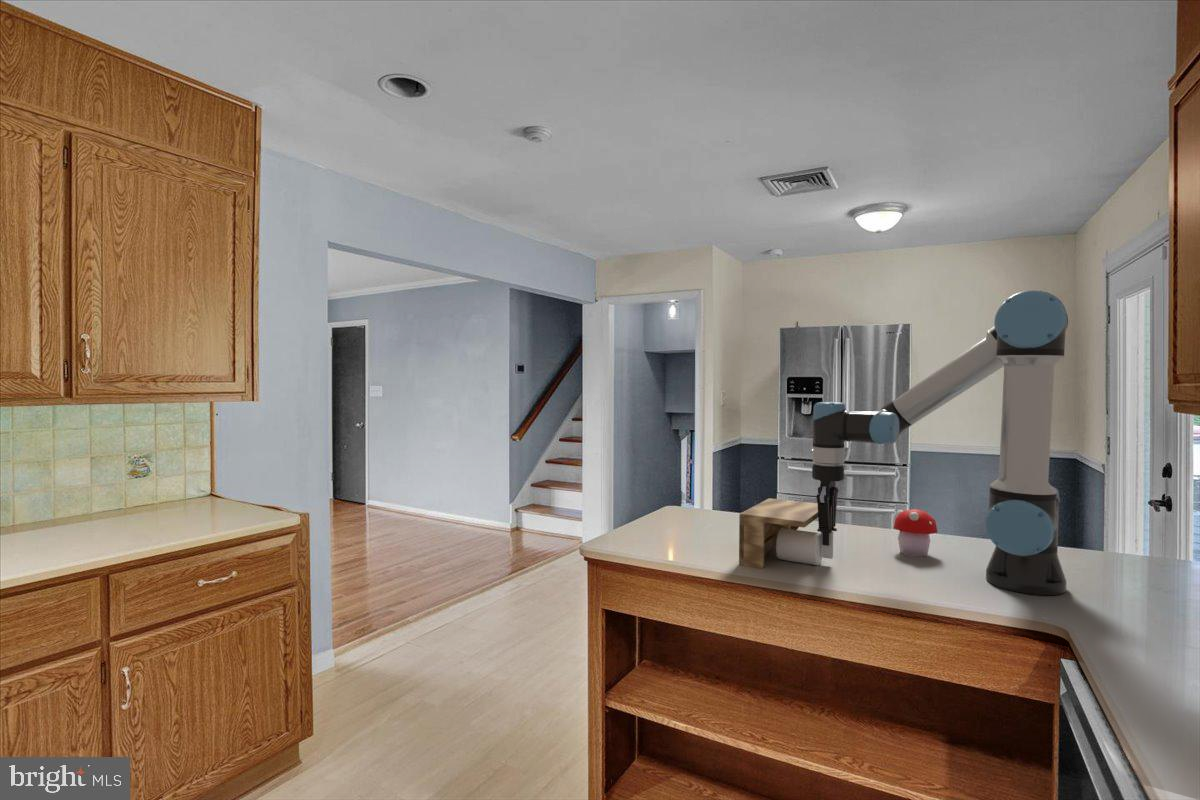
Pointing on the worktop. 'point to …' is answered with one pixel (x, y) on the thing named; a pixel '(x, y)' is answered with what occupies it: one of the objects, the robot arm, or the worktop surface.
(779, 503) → the small wooden shelf
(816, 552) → the mug
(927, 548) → the mushroom
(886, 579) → the worktop surface
